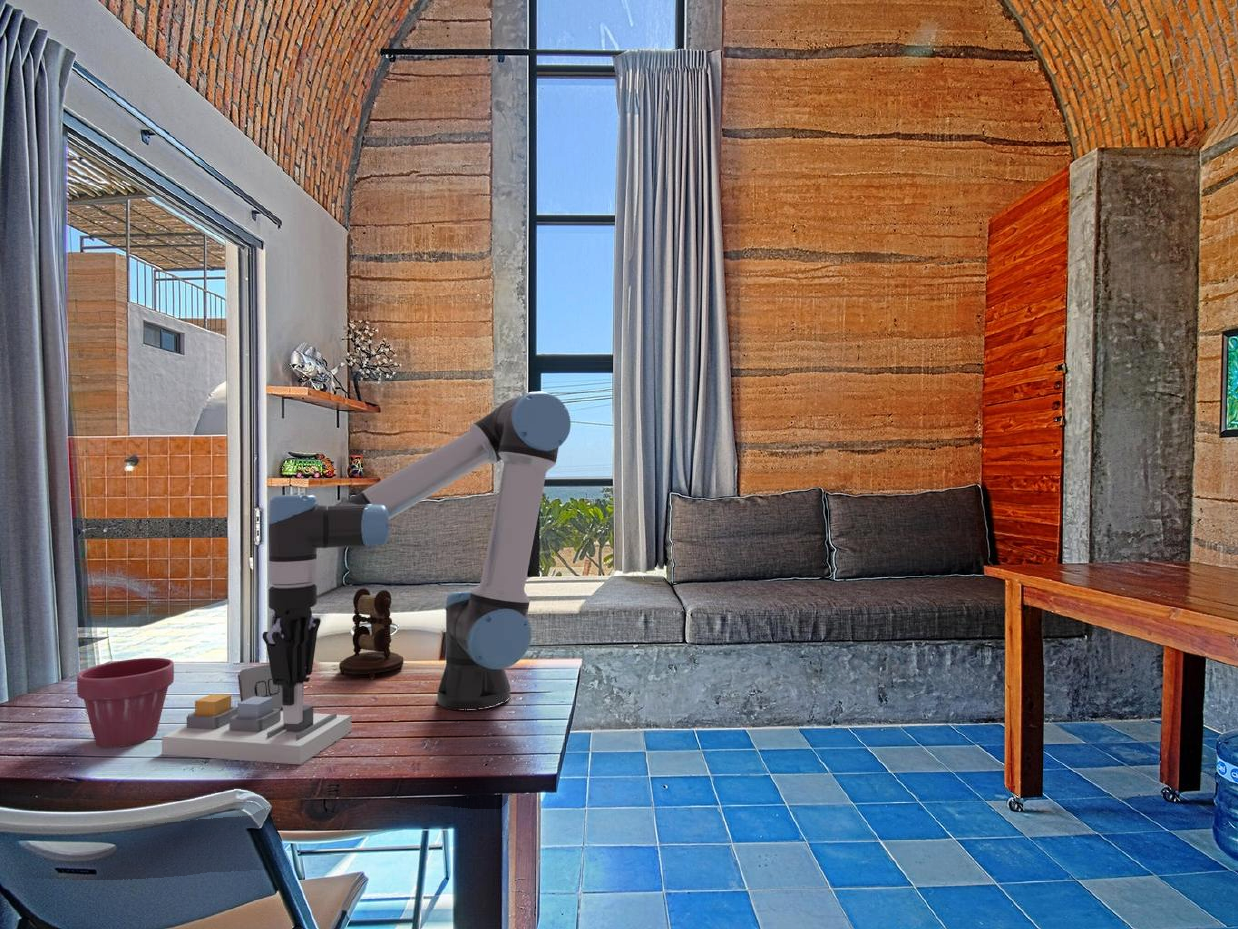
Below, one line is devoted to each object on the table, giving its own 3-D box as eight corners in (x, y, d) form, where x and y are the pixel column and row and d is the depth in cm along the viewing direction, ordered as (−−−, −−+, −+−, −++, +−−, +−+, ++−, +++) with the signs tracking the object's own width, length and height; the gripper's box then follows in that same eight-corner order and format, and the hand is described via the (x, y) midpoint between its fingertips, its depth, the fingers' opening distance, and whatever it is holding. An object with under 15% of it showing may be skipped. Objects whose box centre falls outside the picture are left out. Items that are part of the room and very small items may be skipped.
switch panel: (351, 731, 128) (351, 704, 128) (300, 764, 114) (300, 733, 114) (226, 724, 133) (226, 697, 133) (161, 754, 118) (162, 724, 118)
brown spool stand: (416, 667, 173) (416, 586, 173) (372, 683, 160) (373, 595, 160) (370, 661, 179) (371, 583, 180) (325, 676, 166) (325, 591, 166)
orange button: (231, 709, 127) (231, 695, 127) (214, 716, 123) (215, 702, 123) (211, 708, 127) (211, 694, 127) (194, 715, 123) (195, 701, 123)
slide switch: (313, 726, 122) (313, 705, 122) (304, 731, 120) (305, 710, 120) (292, 725, 123) (292, 704, 123) (283, 729, 120) (284, 708, 120)
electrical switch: (246, 719, 136) (244, 670, 137) (234, 716, 139) (233, 668, 140) (293, 707, 143) (291, 661, 144) (281, 704, 146) (280, 659, 147)
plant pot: (64, 759, 116) (65, 682, 117) (89, 731, 129) (90, 662, 129) (165, 745, 122) (165, 672, 122) (179, 720, 135) (180, 654, 135)
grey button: (273, 712, 125) (273, 697, 125) (257, 719, 121) (258, 704, 121) (253, 710, 126) (253, 696, 126) (237, 718, 122) (237, 703, 122)
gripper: (296, 578, 127) (296, 708, 126) (247, 590, 114) (247, 734, 113) (334, 579, 126) (334, 710, 125) (289, 590, 113) (288, 737, 112)
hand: (292, 722), depth 119 cm, fingers closed
